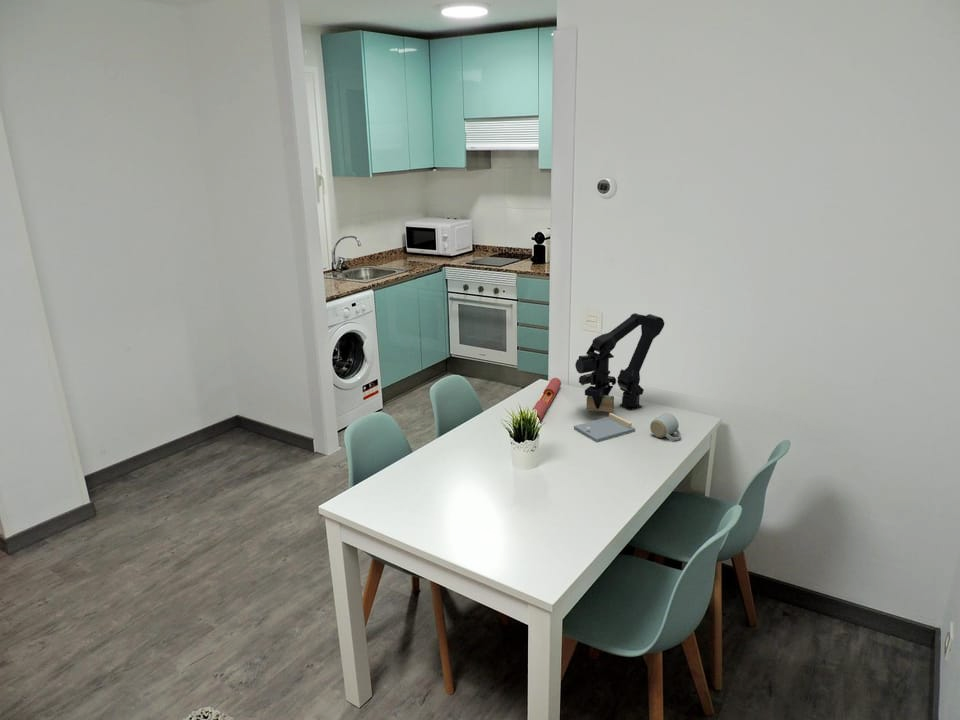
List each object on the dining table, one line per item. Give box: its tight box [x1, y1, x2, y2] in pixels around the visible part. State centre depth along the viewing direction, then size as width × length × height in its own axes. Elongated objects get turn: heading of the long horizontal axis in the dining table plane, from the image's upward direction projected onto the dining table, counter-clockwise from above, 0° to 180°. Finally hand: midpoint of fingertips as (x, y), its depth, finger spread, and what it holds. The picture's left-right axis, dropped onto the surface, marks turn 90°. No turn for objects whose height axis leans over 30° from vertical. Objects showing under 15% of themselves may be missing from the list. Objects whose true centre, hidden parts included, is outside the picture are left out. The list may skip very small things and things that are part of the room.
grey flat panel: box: [573, 412, 636, 443], centre depth 249 cm, size 18×14×3 cm
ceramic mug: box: [649, 412, 682, 442], centre depth 241 cm, size 11×8×8 cm
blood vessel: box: [531, 377, 562, 422], centre depth 275 cm, size 42×5×5 cm, turn 162°
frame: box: [586, 394, 615, 413], centre depth 264 cm, size 5×10×5 cm, turn 69°
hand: (600, 406), depth 264 cm, fingers closed on frame, 5 cm apart
